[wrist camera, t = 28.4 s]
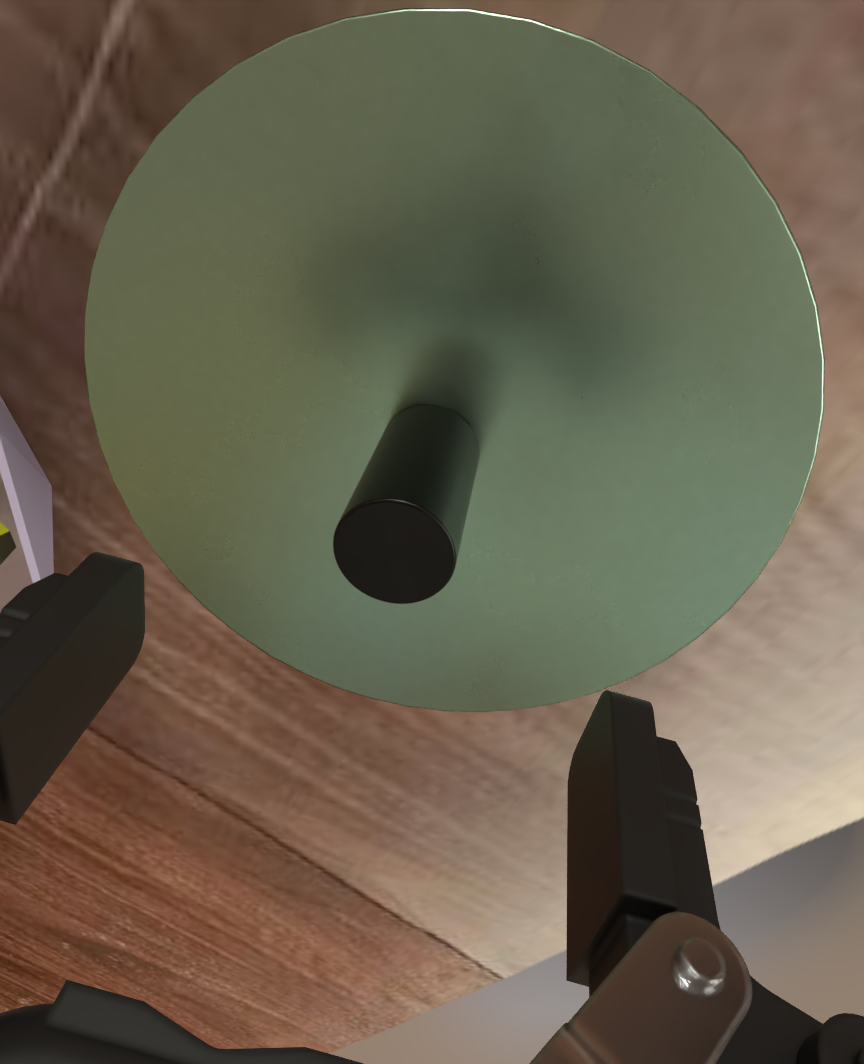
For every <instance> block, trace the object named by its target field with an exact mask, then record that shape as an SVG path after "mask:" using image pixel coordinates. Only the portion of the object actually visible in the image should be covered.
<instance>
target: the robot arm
mask: <svg viewBox="0 0 864 1064" xmlns="http://www.w3.org/2000/svg"><path fill="white" fill-rule="evenodd" d="M144 633H145V605H144V570H143V567H142V565H141V564H140V563H137V562H133V561H130V560H126V559H122V558H118V557H115V556H111V555H107V554H103V553H100V552H95V553H92V554H91V555H89V556H88V557H87V558H86V559H85V560H84V561H83V562H82V563H81V564H80V565H79V566H78V567H77V568H76V569H75V570H74V571H73V572H72V573H71V574H70V575H69V576H66V575H62V574H59V573H53V574H51V575H49V576H47V577H45V578H43V579H41V580H39V581H37V582H35V583H33V584H31V585H29V586H27V587H25V588H23V589H22V590H21V591H20V592H19V593H18V594H17V595H16V596H15V597H14V598H13V599H12V600H11V601H10V602H8V603H7V604H6V605H5V606H4V607H3V608H2V611H1V613H0V820H1V821H4V822H8V823H12V824H15V825H16V823H17V822H18V821H19V819H20V818H21V817H22V815H23V814H24V813H25V811H26V810H27V808H28V807H29V806H30V804H31V803H32V802H33V800H34V799H35V798H36V796H37V795H38V794H39V792H40V791H41V789H42V788H43V787H44V785H45V784H46V783H47V781H48V780H49V779H50V777H51V776H52V774H53V773H54V772H55V770H56V769H57V768H58V766H59V765H60V764H61V762H62V761H63V759H64V758H65V757H66V755H67V754H68V753H69V751H70V750H71V749H72V747H73V746H74V745H75V743H76V742H77V740H78V739H79V738H80V736H81V735H82V734H83V732H84V731H85V730H86V728H87V727H88V725H89V724H90V723H91V721H92V720H93V719H94V717H95V716H96V715H97V713H98V712H99V711H100V709H101V708H102V706H103V705H104V704H105V702H106V701H107V700H108V698H109V697H110V696H111V694H112V693H113V691H114V690H115V689H116V687H117V686H118V685H119V683H120V682H121V681H122V679H123V678H124V676H125V675H126V674H127V672H128V671H129V670H130V668H131V667H132V665H133V664H134V662H135V661H136V659H137V657H138V654H139V652H140V649H141V647H142V643H143V639H144ZM696 802H697V795H696V789H695V783H694V777H693V771H692V769H691V767H690V765H689V764H688V762H687V760H686V759H685V757H684V755H683V753H682V752H681V750H680V748H679V747H678V745H677V743H676V742H675V741H672V740H668V739H664V738H661V737H657V736H656V728H655V720H654V712H653V707H652V704H651V703H650V702H649V701H645V700H641V699H637V698H634V697H630V696H626V695H622V694H619V693H615V692H611V691H608V690H606V691H604V692H603V693H602V695H601V697H600V698H599V700H598V703H597V705H596V707H595V709H594V711H593V713H592V715H591V717H590V719H589V721H588V723H587V726H586V728H585V730H584V732H583V734H582V736H581V738H580V740H579V742H578V744H577V747H576V749H575V751H574V754H573V758H572V761H571V766H570V771H569V777H568V829H567V981H570V982H574V983H577V984H581V985H585V986H588V987H589V993H590V994H589V995H590V996H589V999H588V1000H587V1001H586V1002H585V1003H584V1005H583V1006H582V1007H581V1008H580V1009H579V1011H578V1012H577V1013H576V1014H575V1015H574V1016H573V1017H572V1019H571V1020H570V1021H569V1022H568V1023H565V1024H564V1025H563V1026H562V1027H561V1028H560V1029H559V1030H558V1031H557V1032H556V1033H555V1034H554V1036H553V1037H552V1038H551V1039H550V1040H549V1041H548V1042H547V1044H546V1045H545V1046H544V1047H543V1048H542V1050H541V1051H540V1052H539V1053H538V1054H537V1055H536V1057H535V1058H534V1059H533V1060H532V1061H531V1063H530V1064H864V1017H863V1016H860V1015H855V1014H847V1013H843V1014H838V1015H835V1016H833V1017H831V1018H829V1019H828V1020H827V1021H826V1022H825V1023H824V1024H822V1023H820V1022H818V1021H817V1020H815V1019H814V1018H812V1017H811V1016H809V1015H807V1014H806V1013H804V1012H802V1011H801V1010H799V1009H798V1008H796V1007H794V1006H793V1005H791V1004H790V1003H788V1002H786V1001H785V1000H783V999H781V998H780V997H778V996H777V995H775V994H773V993H772V992H770V991H769V990H767V989H766V988H765V987H763V986H762V985H761V984H759V983H758V982H757V981H756V980H755V979H753V978H752V977H751V976H750V974H749V971H748V968H747V966H746V963H745V961H744V959H743V957H742V956H741V954H740V953H739V951H738V950H737V948H736V947H735V945H734V944H733V943H732V941H731V940H730V939H729V938H728V937H727V936H726V935H725V934H724V933H723V932H722V931H721V930H720V926H719V922H718V917H717V912H716V906H715V900H714V894H713V888H712V882H711V876H710V870H709V865H708V859H707V853H706V847H705V841H704V835H703V830H702V829H701V828H700V827H701V818H700V812H699V806H698V805H696ZM0 1064H363V1063H359V1062H356V1061H352V1060H349V1059H345V1058H342V1057H338V1056H335V1055H331V1054H328V1053H324V1052H321V1051H317V1050H313V1049H310V1048H306V1047H294V1048H254V1049H218V1048H214V1047H212V1046H210V1045H208V1044H207V1043H205V1042H204V1041H202V1040H201V1039H199V1038H198V1037H196V1036H195V1035H193V1034H192V1033H190V1032H189V1031H187V1030H186V1029H184V1028H183V1027H181V1026H180V1025H178V1024H177V1023H175V1022H174V1021H172V1020H171V1019H169V1018H168V1017H166V1016H165V1015H163V1014H162V1013H160V1012H159V1011H157V1010H156V1009H154V1008H153V1007H151V1006H150V1005H148V1004H147V1003H145V1002H143V1001H140V1000H136V999H133V998H129V997H126V996H122V995H119V994H115V993H112V992H108V991H105V990H101V989H97V988H94V987H90V986H87V985H83V984H80V983H76V982H73V981H69V980H66V982H65V984H64V986H63V988H62V989H61V991H60V993H59V995H58V997H57V998H56V1000H55V1002H54V1004H41V1005H34V1006H28V1007H21V1008H17V1009H14V1010H10V1011H7V1012H3V1013H0Z"/></svg>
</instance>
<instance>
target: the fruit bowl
mask: <svg viewBox="0 0 864 1064" xmlns="http://www.w3.org/2000/svg"><path fill="white" fill-rule="evenodd" d="M53 573H54V565H53V519H52V486H51V484H50V482H49V481H48V479H47V477H46V475H45V473H44V472H43V470H42V468H41V466H40V465H39V463H38V461H37V459H36V458H35V456H34V454H33V452H32V451H31V449H30V447H29V445H28V444H27V442H26V440H25V438H24V436H23V435H22V433H21V431H20V429H19V428H18V426H17V424H16V422H15V421H14V419H13V417H12V415H11V414H10V412H9V410H8V408H7V406H6V405H5V403H4V401H3V399H2V398H1V396H0V613H1V611H2V608H3V607H4V606H5V605H6V604H7V603H8V602H10V601H11V600H12V599H13V598H14V597H15V596H16V595H17V594H18V593H19V592H20V591H21V590H22V589H23V588H25V587H27V586H29V585H31V584H33V583H35V582H37V581H39V580H41V579H43V578H45V577H47V576H49V575H51V574H53Z"/></svg>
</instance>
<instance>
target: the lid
mask: <svg viewBox="0 0 864 1064" xmlns="http://www.w3.org/2000/svg"><path fill="white" fill-rule="evenodd" d="M84 360H85V368H86V377H87V385H88V394H89V402H90V406H91V410H92V414H93V418H94V422H95V426H96V430H97V435H98V439H99V443H100V446H101V448H102V451H103V454H104V456H105V459H106V461H107V464H108V467H109V469H110V472H111V475H112V477H113V480H114V483H115V484H116V486H117V488H118V490H119V492H120V494H121V496H122V498H123V500H124V502H125V504H126V506H127V508H128V510H129V512H130V514H131V516H132V518H133V519H134V521H135V522H136V524H137V525H138V527H139V528H140V530H141V531H142V533H143V534H144V536H145V537H146V539H147V540H148V542H149V543H150V545H151V547H152V548H153V550H154V551H155V552H156V554H157V555H158V556H159V557H160V559H161V560H162V561H163V562H164V563H165V565H166V566H167V567H168V568H169V569H170V571H171V572H172V573H173V574H174V576H175V577H176V578H177V579H178V580H179V582H180V583H181V584H182V585H183V586H184V587H185V588H186V589H187V590H188V591H189V592H190V593H191V594H192V595H193V596H194V597H195V598H196V599H197V600H198V601H199V602H200V603H201V604H202V605H203V606H204V607H205V608H206V609H207V610H209V611H210V612H211V613H212V614H214V615H215V616H216V617H217V618H218V619H220V620H221V621H222V622H223V623H225V624H226V625H227V626H228V627H230V628H231V629H232V630H233V631H234V632H236V633H237V634H238V635H240V636H241V637H243V638H244V639H246V640H247V641H249V642H250V643H252V644H253V645H255V646H256V647H258V648H259V649H261V650H262V651H264V652H265V653H267V654H268V655H270V656H272V657H274V658H276V659H277V660H279V661H281V662H283V663H285V664H287V665H289V666H290V667H292V668H294V669H296V670H298V671H300V672H302V673H304V674H306V675H309V676H311V677H313V678H316V679H318V680H320V681H323V682H325V683H327V684H330V685H332V686H335V687H337V688H340V689H343V690H346V691H350V692H353V693H356V694H359V695H362V696H365V697H368V698H372V699H376V700H381V701H385V702H390V703H394V704H399V705H404V706H408V707H416V708H424V709H432V710H441V711H461V712H491V711H505V710H519V709H526V708H532V707H537V706H543V705H549V704H555V703H560V702H563V701H567V700H570V699H574V698H577V697H581V696H585V695H588V694H592V693H595V692H598V691H600V690H603V689H605V688H608V687H610V686H613V685H615V684H618V683H620V682H623V681H625V680H628V679H630V678H632V677H634V676H636V675H638V674H640V673H642V672H644V671H646V670H647V669H649V668H651V667H653V666H655V665H657V664H659V663H661V662H662V661H664V660H666V659H668V658H669V657H670V656H672V655H673V654H675V653H676V652H678V651H679V650H681V649H682V648H683V647H685V646H686V645H688V644H689V643H691V642H692V641H694V640H695V639H697V638H698V637H699V636H700V635H702V634H703V633H704V632H705V631H706V630H707V629H708V628H709V627H711V626H712V625H713V624H714V623H715V622H716V621H717V620H718V619H720V618H721V617H722V616H723V615H724V614H725V613H726V612H728V611H729V610H730V609H731V607H732V606H733V605H734V604H735V603H736V602H737V601H738V600H739V598H740V597H741V596H742V595H743V594H744V593H745V592H746V590H747V589H748V588H749V587H750V586H751V585H752V584H753V582H754V581H755V580H756V579H757V578H758V576H759V575H760V573H761V572H762V570H763V569H764V567H765V566H766V564H767V563H768V561H769V560H770V558H771V557H772V555H773V554H774V553H775V551H776V550H777V548H778V547H779V545H780V544H781V542H782V540H783V538H784V536H785V534H786V532H787V530H788V528H789V526H790V524H791V522H792V520H793V517H794V515H795V513H796V511H797V509H798V507H799V505H800V503H801V501H802V498H803V495H804V492H805V489H806V485H807V482H808V479H809V476H810V473H811V470H812V467H813V464H814V461H815V458H816V453H817V447H818V441H819V435H820V429H821V423H822V417H823V411H824V368H825V357H824V349H823V342H822V335H821V328H820V321H819V314H818V306H817V303H816V299H815V296H814V293H813V289H812V286H811V283H810V279H809V276H808V273H807V270H806V266H805V263H804V260H803V256H802V253H801V251H800V249H799V247H798V245H797V243H796V241H795V238H794V236H793V234H792V232H791V230H790V228H789V226H788V224H787V222H786V220H785V218H784V216H783V214H782V212H781V210H780V208H779V205H778V203H777V201H776V200H775V198H774V197H773V195H772V194H771V193H770V191H769V190H768V188H767V187H766V185H765V184H764V183H763V181H762V180H761V178H760V177H759V175H758V174H757V173H756V171H755V170H754V168H753V167H752V165H751V164H750V162H749V161H748V160H747V158H746V157H745V155H744V154H743V152H742V151H741V150H740V149H739V148H738V147H737V146H736V145H735V144H734V143H733V142H732V141H731V140H730V139H729V138H728V137H727V136H726V135H725V134H724V133H723V132H722V131H721V130H720V128H719V127H718V126H717V125H716V124H715V123H714V122H713V121H712V120H711V119H710V118H709V117H708V116H707V115H706V114H705V113H704V112H703V111H702V110H701V109H700V108H699V107H698V106H697V105H695V104H694V103H693V102H691V101H690V100H689V99H687V98H686V97H685V96H683V95H682V94H681V93H679V92H678V91H677V90H675V89H674V88H673V87H671V86H670V85H669V84H667V83H666V82H665V81H663V80H662V79H661V78H659V77H658V76H657V75H655V74H654V73H653V72H651V71H650V70H649V69H647V68H645V67H643V66H641V65H639V64H637V63H635V62H633V61H632V60H630V59H628V58H626V57H624V56H622V55H620V54H618V53H616V52H615V51H613V50H611V49H609V48H607V47H605V46H603V45H601V44H599V43H598V42H596V41H594V40H591V39H589V38H586V37H583V36H580V35H577V34H574V33H571V32H568V31H565V30H562V29H559V28H556V27H553V26H550V25H547V24H544V23H541V22H538V21H536V20H533V19H527V18H522V17H516V16H510V15H504V14H498V13H492V12H486V11H480V10H474V9H454V8H404V9H398V10H391V11H385V12H379V13H372V14H366V15H360V16H353V17H347V18H343V19H340V20H337V21H334V22H331V23H328V24H325V25H322V26H319V27H316V28H313V29H310V30H307V31H304V32H301V33H298V34H295V35H292V36H289V37H287V38H285V39H283V40H281V41H279V42H277V43H275V44H273V45H271V46H270V47H268V48H266V49H264V50H262V51H260V52H258V53H256V54H254V55H252V56H251V57H249V58H247V59H245V60H243V61H241V62H239V63H237V64H236V65H235V66H233V67H232V68H231V69H229V70H228V71H227V72H225V73H224V74H223V75H221V76H220V77H219V78H217V79H216V80H215V81H214V82H212V83H211V84H210V85H208V86H207V87H206V88H204V89H203V90H202V91H200V92H199V93H198V94H196V95H195V96H194V97H193V98H192V99H191V100H190V101H189V102H188V103H187V104H186V105H185V106H184V107H183V108H182V109H181V110H180V111H179V112H178V113H177V114H176V115H175V117H174V118H173V119H172V120H171V121H170V122H169V123H168V124H167V125H166V126H165V127H164V128H163V129H162V130H161V131H160V132H159V133H158V134H157V135H156V137H155V138H154V140H153V141H152V143H151V144H150V146H149V147H148V149H147V150H146V151H145V153H144V154H143V156H142V157H141V159H140V160H139V162H138V163H137V165H136V166H135V168H134V169H133V170H132V172H131V173H130V175H129V176H128V178H127V180H126V182H125V184H124V186H123V188H122V190H121V192H120V194H119V197H118V199H117V201H116V203H115V205H114V207H113V209H112V211H111V213H110V215H109V217H108V220H107V222H106V224H105V228H104V231H103V234H102V238H101V241H100V244H99V247H98V251H97V254H96V257H95V261H94V264H93V267H92V272H91V279H90V285H89V292H88V298H87V305H86V311H85V354H84Z"/></svg>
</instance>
